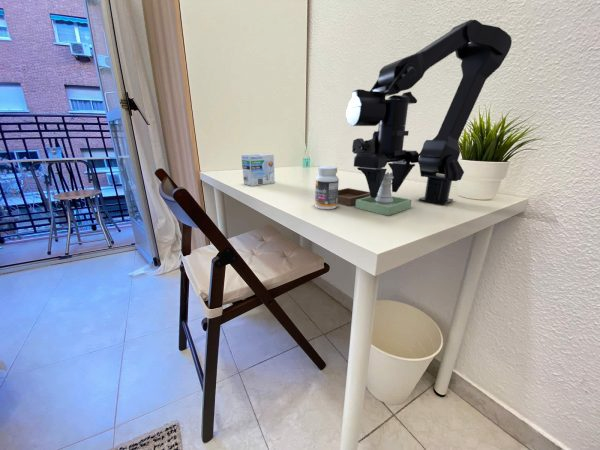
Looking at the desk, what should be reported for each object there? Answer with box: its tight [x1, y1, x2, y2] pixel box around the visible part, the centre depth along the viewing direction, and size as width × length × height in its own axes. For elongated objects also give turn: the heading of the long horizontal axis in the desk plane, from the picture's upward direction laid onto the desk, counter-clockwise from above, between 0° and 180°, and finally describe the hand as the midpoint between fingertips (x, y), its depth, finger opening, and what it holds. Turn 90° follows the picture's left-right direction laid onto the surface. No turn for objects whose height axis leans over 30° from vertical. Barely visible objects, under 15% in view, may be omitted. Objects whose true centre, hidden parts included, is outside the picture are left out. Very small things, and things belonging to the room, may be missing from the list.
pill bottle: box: [314, 165, 340, 210], centre depth 61 cm, size 6×6×10 cm
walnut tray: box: [337, 187, 371, 207], centre depth 69 cm, size 10×9×2 cm
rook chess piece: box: [375, 171, 394, 206], centre depth 60 cm, size 4×4×8 cm
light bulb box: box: [240, 153, 276, 187], centre depth 93 cm, size 11×7×11 cm, turn 132°
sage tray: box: [355, 193, 413, 216], centre depth 61 cm, size 10×9×2 cm
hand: (384, 194), depth 60 cm, fingers open, 9 cm apart
